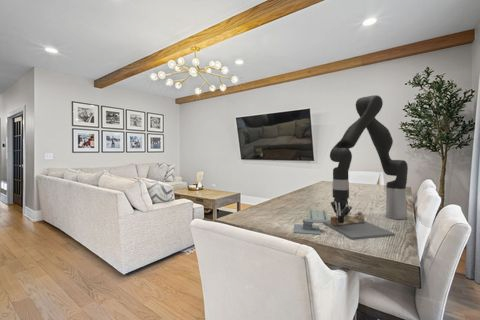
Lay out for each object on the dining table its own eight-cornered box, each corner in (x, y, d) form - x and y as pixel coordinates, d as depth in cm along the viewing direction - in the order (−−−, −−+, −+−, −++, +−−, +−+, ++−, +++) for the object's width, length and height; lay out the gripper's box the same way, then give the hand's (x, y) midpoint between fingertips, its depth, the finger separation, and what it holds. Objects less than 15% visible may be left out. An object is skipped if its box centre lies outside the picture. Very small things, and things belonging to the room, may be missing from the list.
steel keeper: (343, 220, 125) (343, 209, 124) (351, 224, 118) (351, 212, 118) (335, 221, 124) (335, 210, 124) (343, 224, 117) (343, 213, 117)
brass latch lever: (359, 219, 124) (359, 213, 124) (366, 222, 120) (366, 215, 120) (329, 223, 119) (329, 216, 119) (335, 226, 115) (335, 218, 114)
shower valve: (326, 224, 105) (293, 222, 109) (326, 236, 106) (293, 233, 109) (324, 217, 117) (294, 215, 121) (324, 227, 118) (294, 225, 121)
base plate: (358, 220, 128) (358, 208, 128) (394, 235, 104) (395, 221, 104) (322, 222, 124) (322, 211, 124) (351, 239, 100) (351, 225, 100)
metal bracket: (303, 206, 138) (330, 207, 134) (303, 215, 140) (329, 216, 136) (304, 220, 125) (334, 221, 121) (304, 229, 127) (333, 231, 123)
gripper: (357, 189, 108) (357, 226, 108) (338, 186, 121) (338, 218, 121) (343, 190, 106) (343, 227, 107) (325, 186, 119) (326, 220, 119)
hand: (340, 222), depth 114 cm, fingers closed
